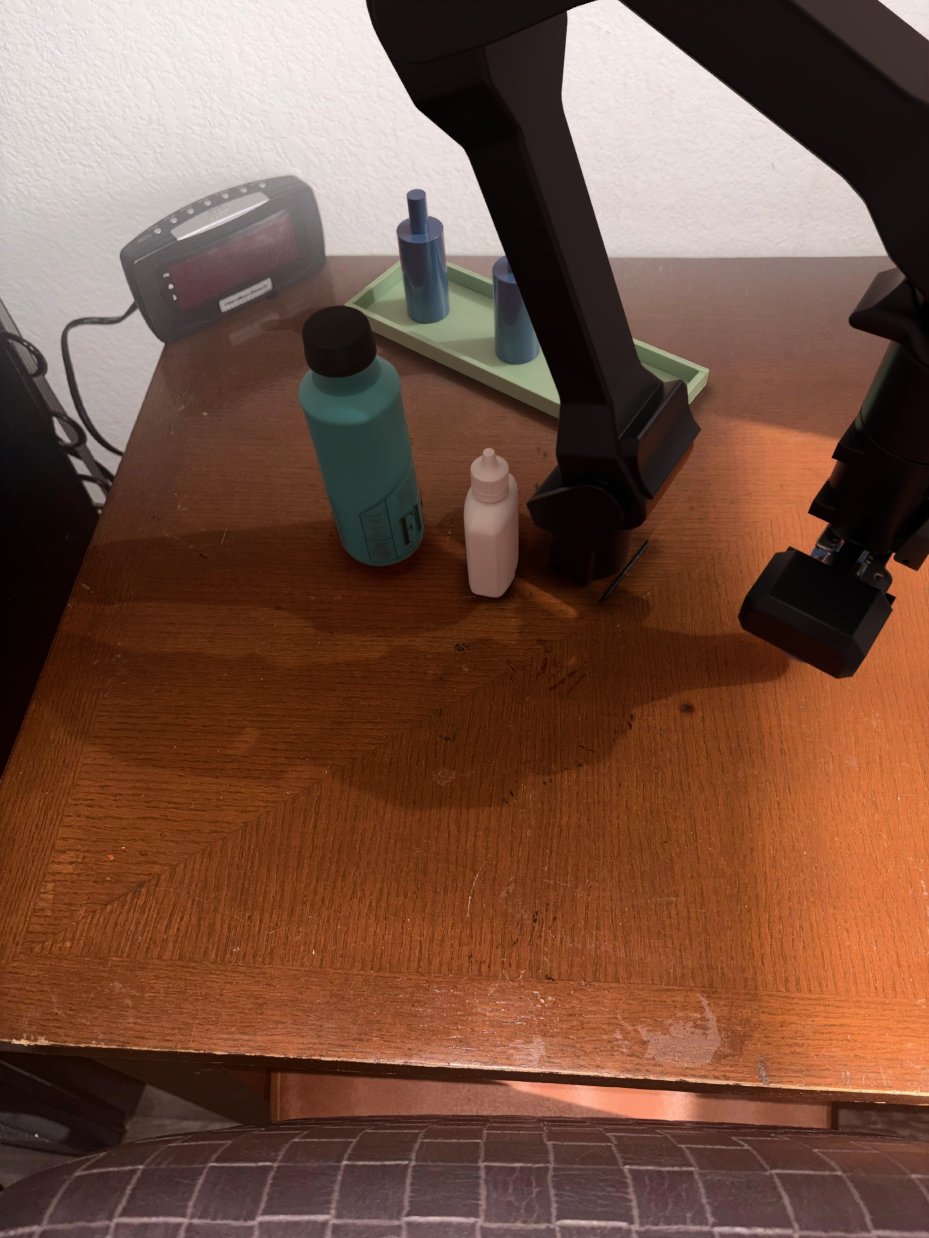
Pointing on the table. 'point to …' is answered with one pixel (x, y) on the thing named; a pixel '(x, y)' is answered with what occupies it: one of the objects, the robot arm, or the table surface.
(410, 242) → the blue bottle back
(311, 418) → the beverage bottle
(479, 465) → the eye dropper bottle
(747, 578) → the table surface
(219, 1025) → the table surface
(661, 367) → the tray
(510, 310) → the blue bottle middle
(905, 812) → the table surface
